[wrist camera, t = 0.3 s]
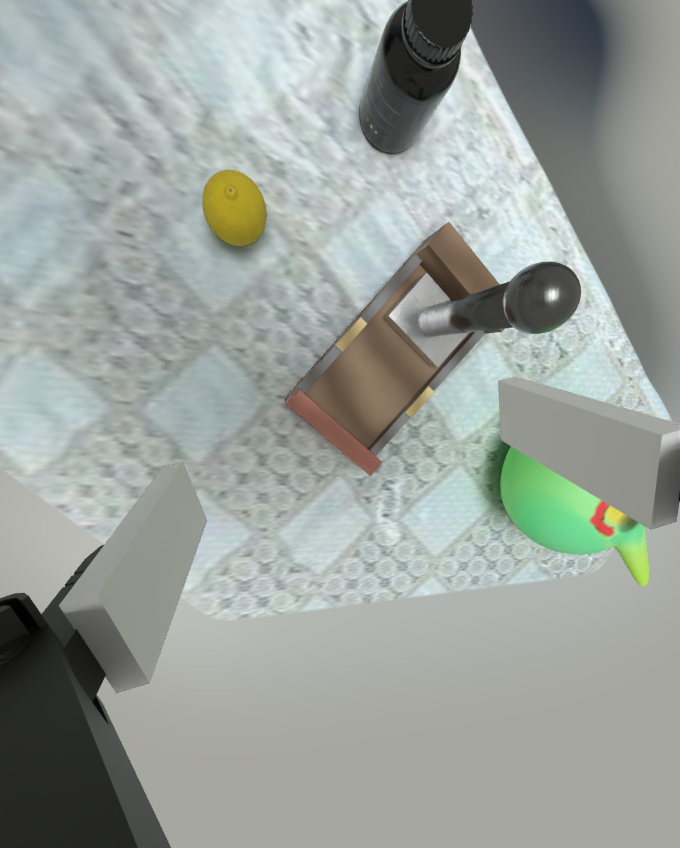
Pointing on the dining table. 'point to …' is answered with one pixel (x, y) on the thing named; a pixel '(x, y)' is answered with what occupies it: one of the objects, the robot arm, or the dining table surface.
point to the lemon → (234, 208)
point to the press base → (386, 357)
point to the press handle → (484, 309)
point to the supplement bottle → (413, 70)
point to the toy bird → (568, 515)
